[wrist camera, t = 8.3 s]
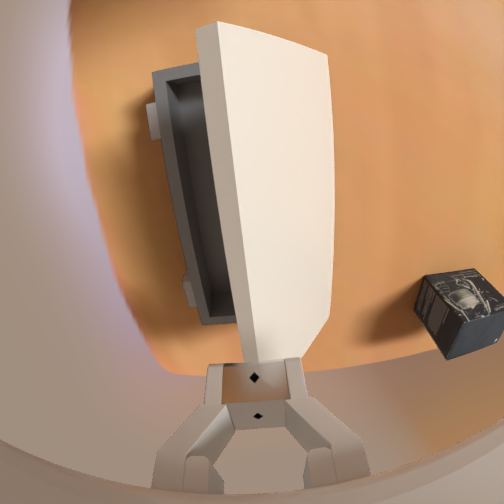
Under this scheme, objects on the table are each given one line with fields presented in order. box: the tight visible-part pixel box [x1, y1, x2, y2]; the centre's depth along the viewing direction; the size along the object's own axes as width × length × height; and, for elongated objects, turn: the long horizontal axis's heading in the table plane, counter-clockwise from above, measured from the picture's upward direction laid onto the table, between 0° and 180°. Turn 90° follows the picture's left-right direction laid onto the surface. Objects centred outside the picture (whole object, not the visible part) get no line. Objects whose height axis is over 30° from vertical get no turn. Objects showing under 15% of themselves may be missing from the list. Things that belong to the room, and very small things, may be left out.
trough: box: [146, 63, 237, 325], centre depth 25 cm, size 24×13×5 cm, turn 6°
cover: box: [195, 21, 335, 363], centre depth 19 cm, size 24×12×1 cm
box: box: [414, 269, 504, 360], centre depth 30 cm, size 11×7×10 cm, turn 94°
